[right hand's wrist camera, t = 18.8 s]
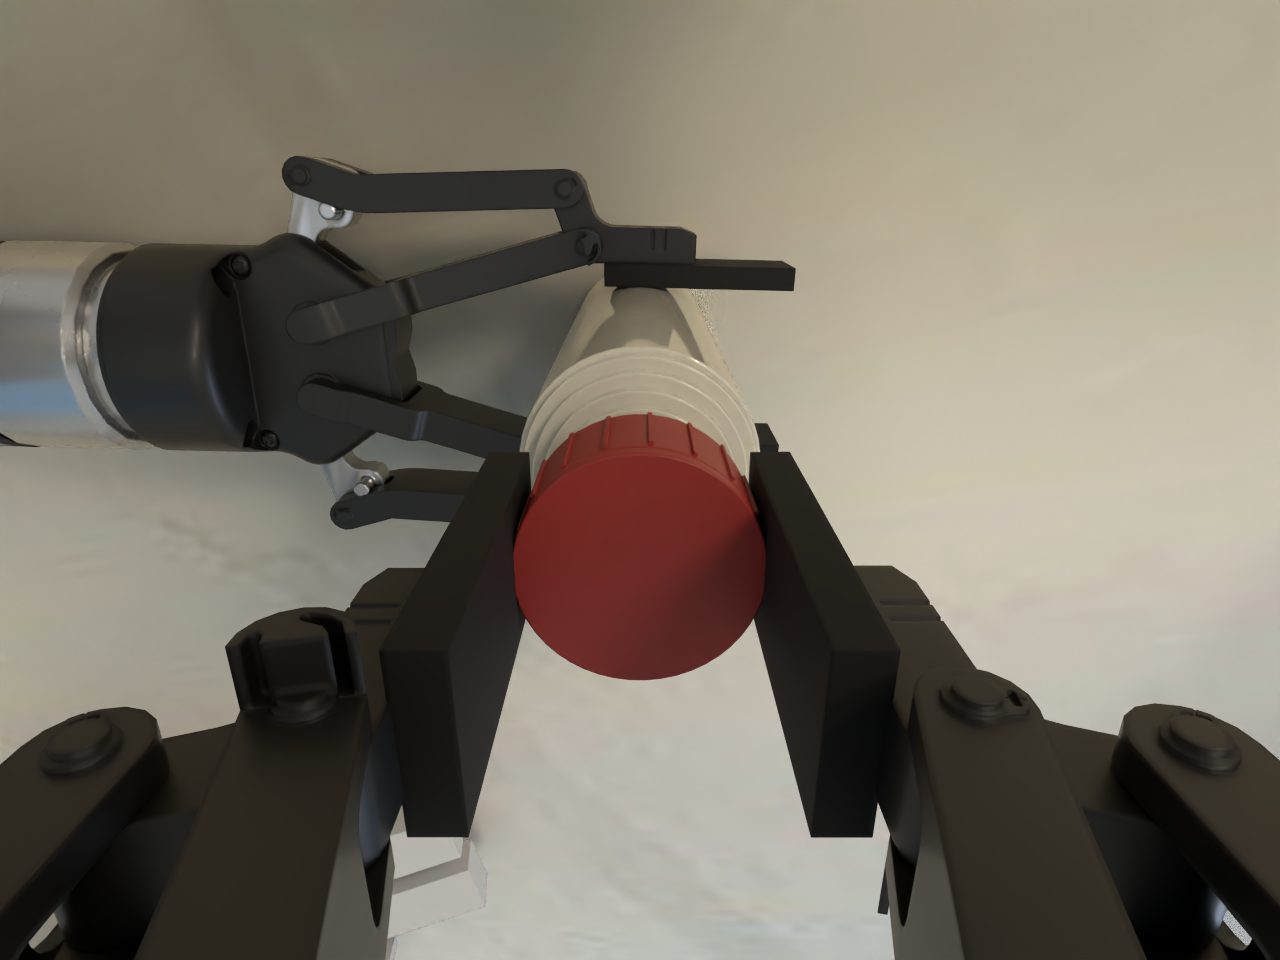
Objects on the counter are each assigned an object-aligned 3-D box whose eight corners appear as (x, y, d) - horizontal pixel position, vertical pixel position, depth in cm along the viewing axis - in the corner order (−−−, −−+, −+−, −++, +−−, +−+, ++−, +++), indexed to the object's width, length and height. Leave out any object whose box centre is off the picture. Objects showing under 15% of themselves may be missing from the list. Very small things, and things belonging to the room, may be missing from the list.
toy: (498, 1024, 37) (-101, 1227, 36) (508, 820, 49) (64, 966, 48) (404, 845, 32) (-279, 1070, 32) (440, 671, 45) (-47, 828, 44)
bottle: (712, 373, 35) (822, 658, 14) (596, 401, 35) (532, 716, 14) (686, 250, 33) (770, 367, 12) (563, 282, 33) (433, 447, 12)
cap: (608, 364, 13) (602, 397, 11) (798, 493, 14) (825, 546, 12) (485, 543, 15) (459, 602, 13) (666, 650, 16) (670, 722, 14)
